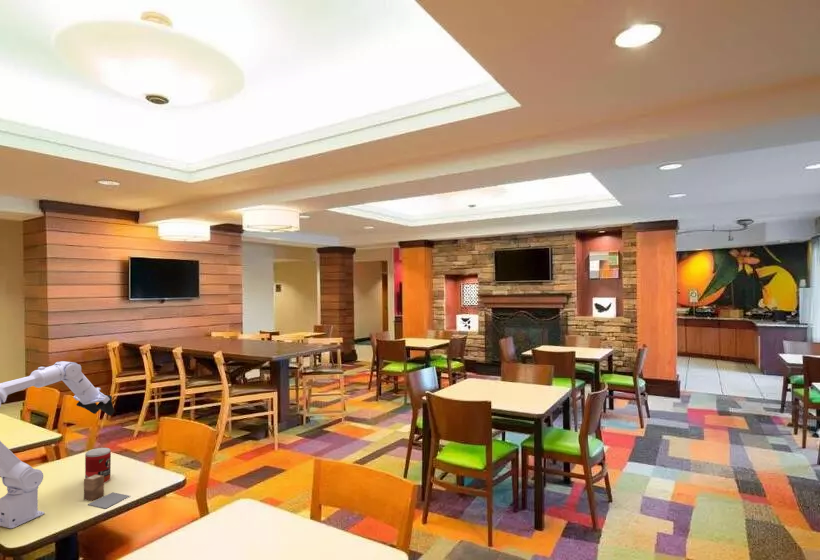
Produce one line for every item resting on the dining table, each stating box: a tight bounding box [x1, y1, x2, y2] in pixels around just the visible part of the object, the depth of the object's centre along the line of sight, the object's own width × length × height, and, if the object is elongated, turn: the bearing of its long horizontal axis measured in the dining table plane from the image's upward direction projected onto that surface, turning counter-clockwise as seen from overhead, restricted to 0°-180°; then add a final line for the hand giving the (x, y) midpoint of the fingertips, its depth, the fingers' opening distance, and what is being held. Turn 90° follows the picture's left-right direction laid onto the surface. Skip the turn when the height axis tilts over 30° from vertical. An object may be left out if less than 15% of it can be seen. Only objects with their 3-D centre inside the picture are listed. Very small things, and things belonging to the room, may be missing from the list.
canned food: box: [84, 447, 112, 484], centre depth 170 cm, size 8×8×11 cm
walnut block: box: [83, 474, 105, 502], centre depth 158 cm, size 4×4×7 cm
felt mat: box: [87, 492, 130, 510], centre depth 155 cm, size 9×8×1 cm
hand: (104, 412), depth 169 cm, fingers open, 7 cm apart
